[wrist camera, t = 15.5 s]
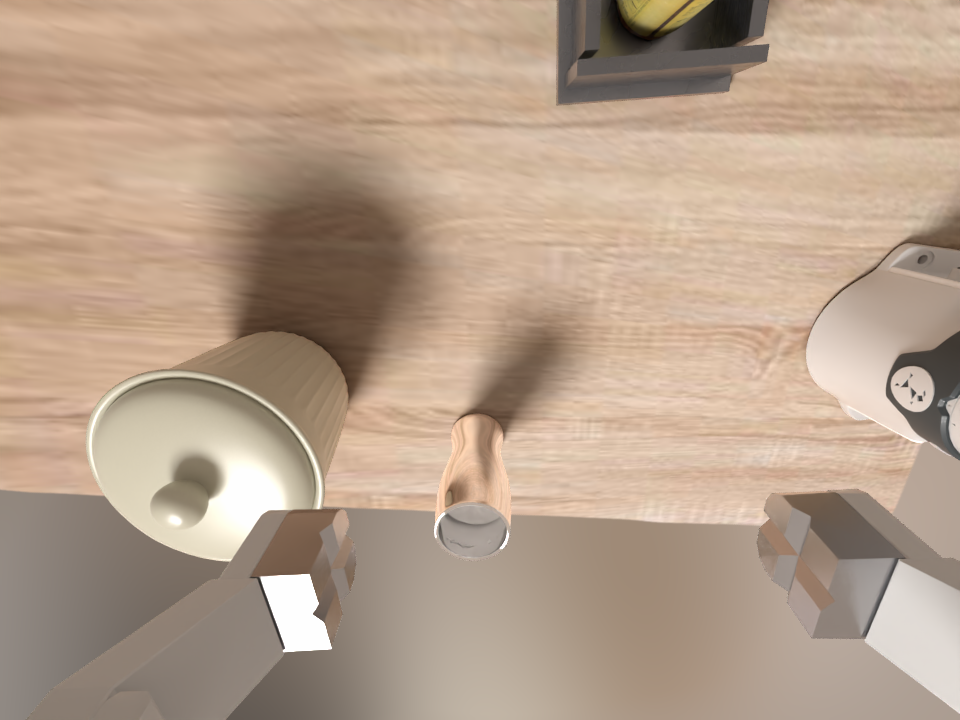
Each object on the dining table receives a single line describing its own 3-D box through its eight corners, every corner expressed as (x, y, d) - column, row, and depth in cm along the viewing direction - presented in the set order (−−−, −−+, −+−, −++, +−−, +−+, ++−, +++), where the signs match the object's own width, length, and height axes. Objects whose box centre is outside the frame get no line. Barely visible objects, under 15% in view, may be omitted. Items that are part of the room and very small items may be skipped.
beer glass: (472, 398, 50) (465, 486, 36) (519, 432, 51) (530, 529, 38) (435, 438, 52) (415, 536, 38) (481, 469, 54) (478, 574, 40)
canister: (360, 299, 45) (263, 397, 26) (385, 447, 53) (323, 610, 33) (188, 307, 46) (-28, 408, 27) (236, 452, 53) (92, 614, 34)
